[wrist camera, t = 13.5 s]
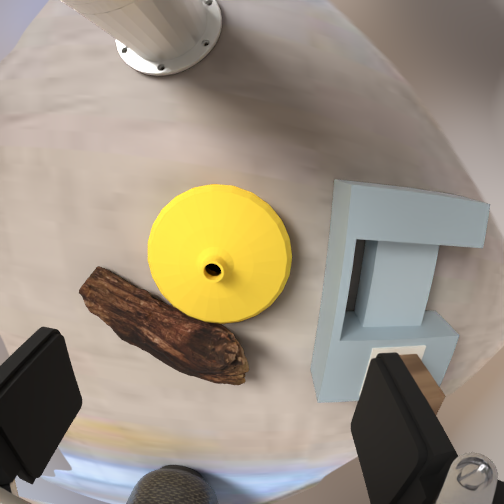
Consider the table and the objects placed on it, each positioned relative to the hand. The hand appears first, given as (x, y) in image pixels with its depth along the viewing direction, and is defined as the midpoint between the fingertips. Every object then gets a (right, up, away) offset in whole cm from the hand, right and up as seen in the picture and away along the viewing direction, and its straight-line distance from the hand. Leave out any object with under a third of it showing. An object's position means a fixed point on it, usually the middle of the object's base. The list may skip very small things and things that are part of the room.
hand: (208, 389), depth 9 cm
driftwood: (-9, -4, +31) cm, 33 cm away
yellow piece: (-2, +4, +29) cm, 29 cm away
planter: (-13, -40, +42) cm, 59 cm away
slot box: (+18, 0, +29) cm, 34 cm away
